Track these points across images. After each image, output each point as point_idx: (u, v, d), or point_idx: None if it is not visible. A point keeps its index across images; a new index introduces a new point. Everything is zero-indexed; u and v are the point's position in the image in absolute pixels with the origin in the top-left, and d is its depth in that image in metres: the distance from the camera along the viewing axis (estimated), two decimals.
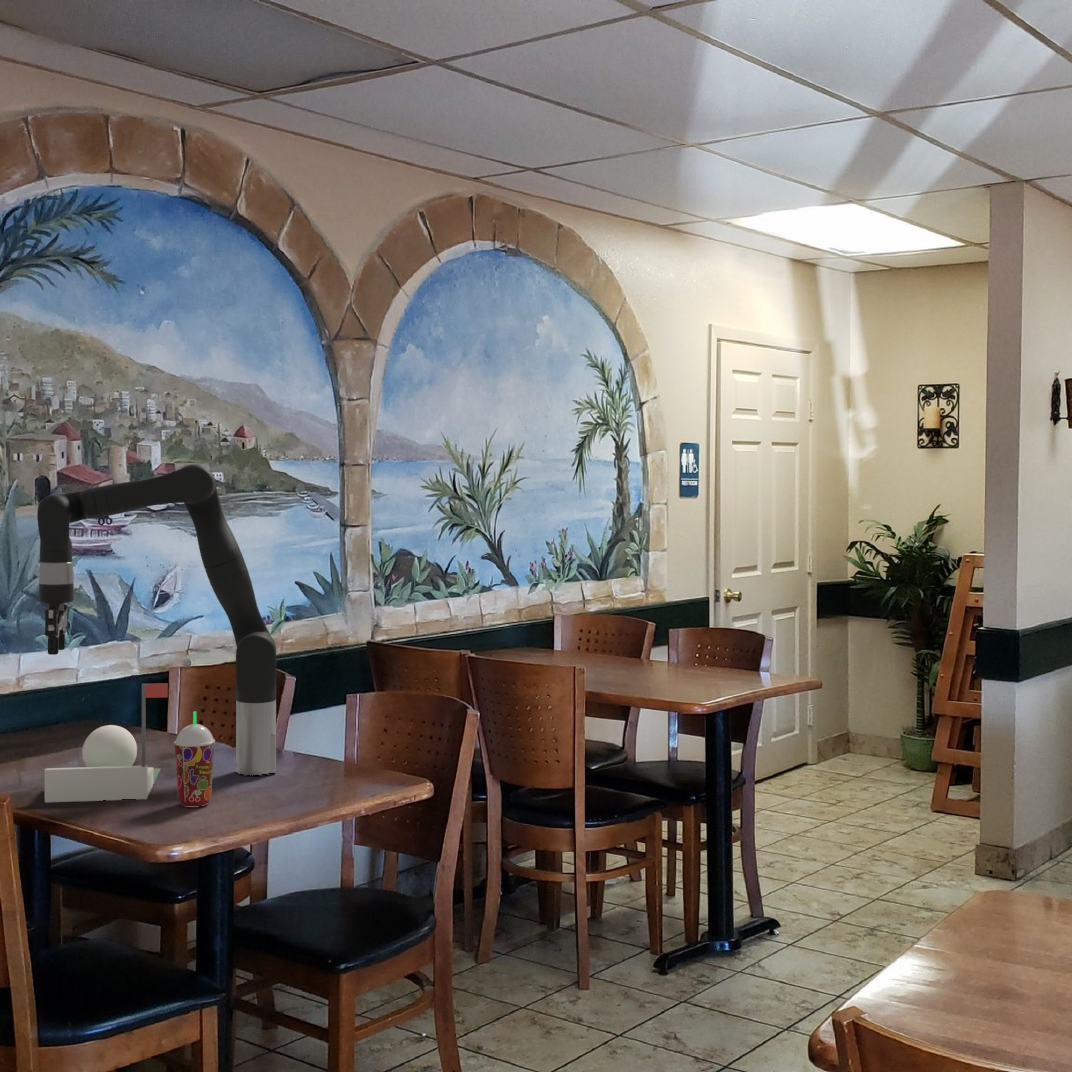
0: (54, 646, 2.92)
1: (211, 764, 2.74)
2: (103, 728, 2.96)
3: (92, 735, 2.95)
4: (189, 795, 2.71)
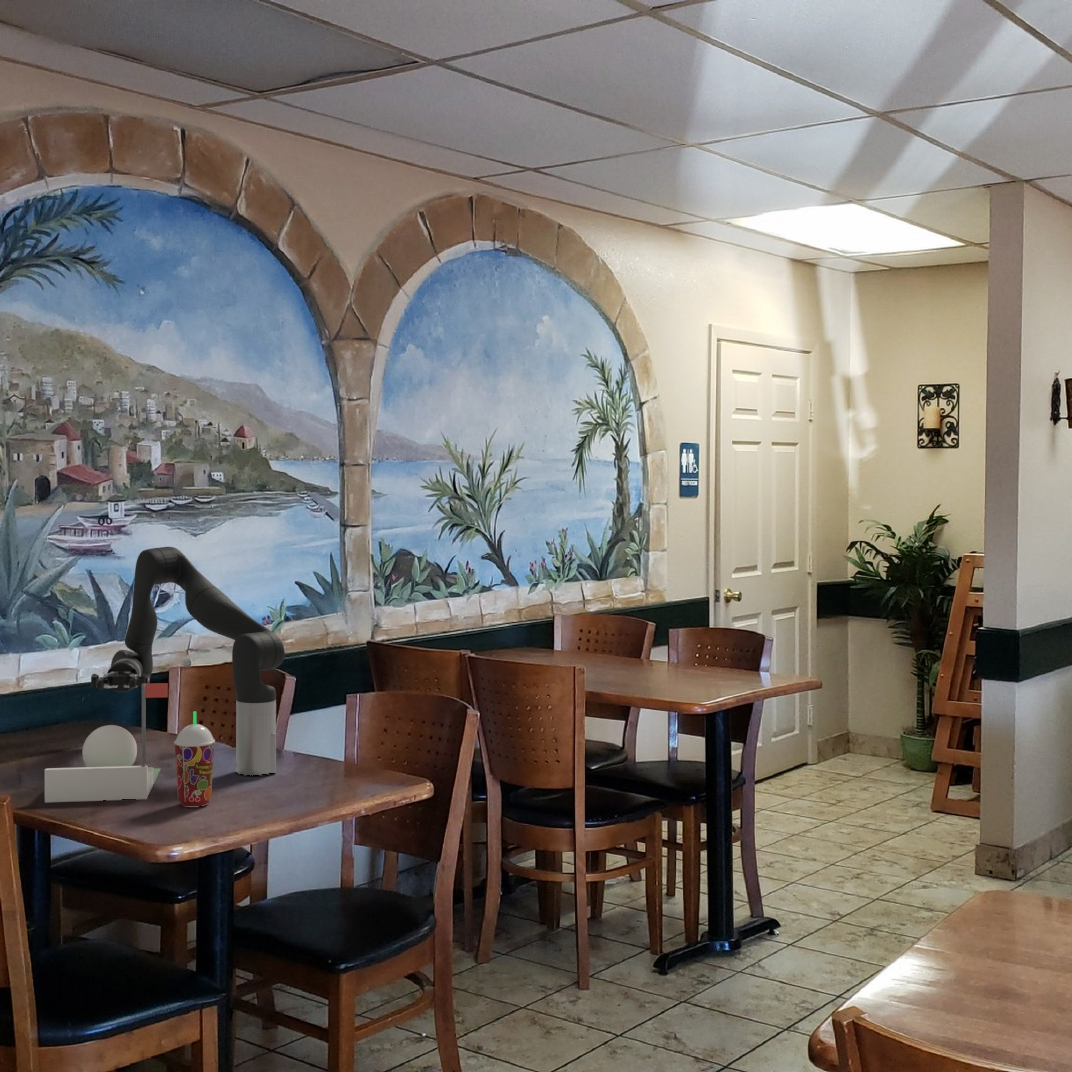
0: None
1: (211, 764, 2.74)
2: (103, 728, 2.96)
3: (92, 735, 2.95)
4: (189, 795, 2.71)
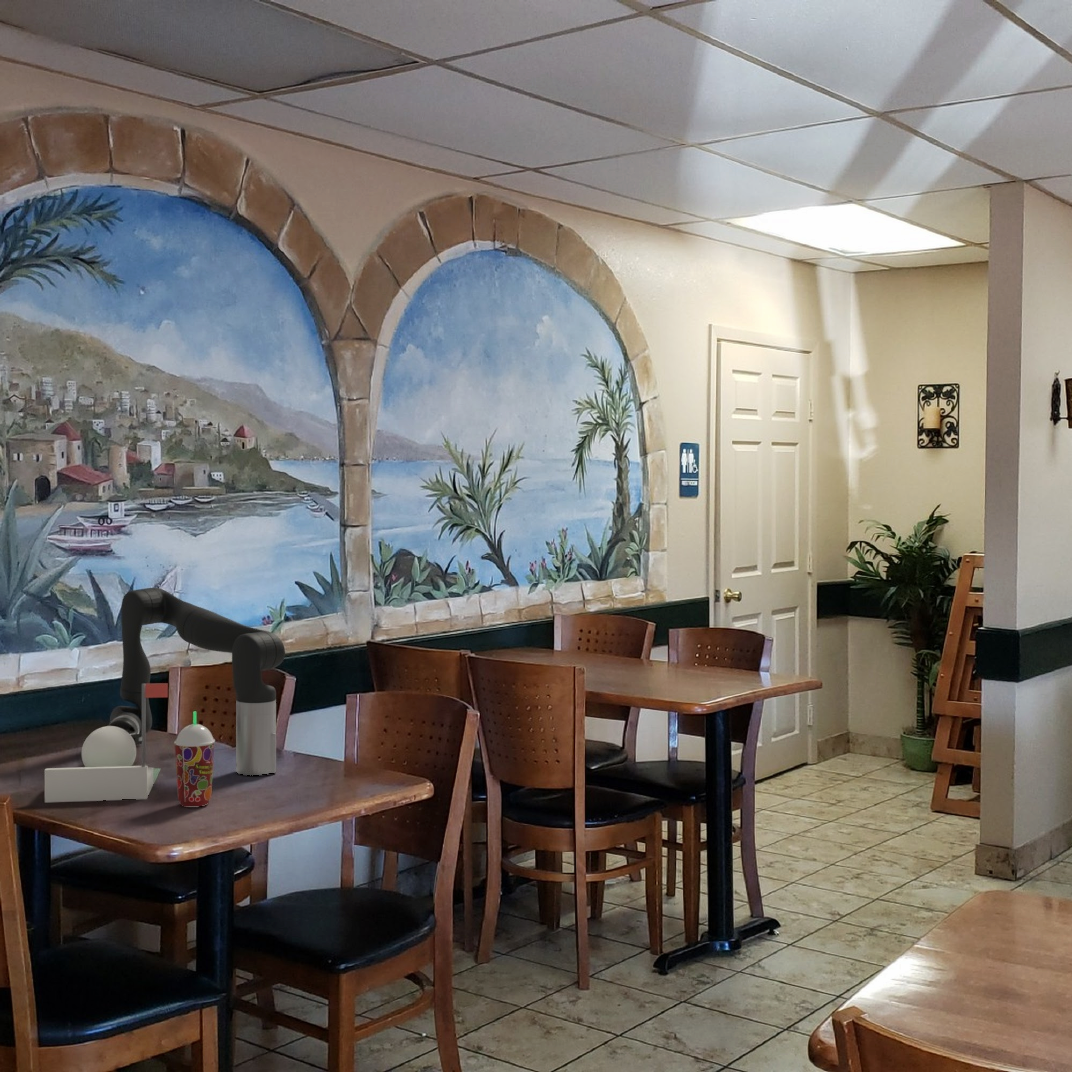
0: None
1: (211, 764, 2.74)
2: (101, 731, 2.94)
3: (91, 739, 2.93)
4: (189, 795, 2.71)
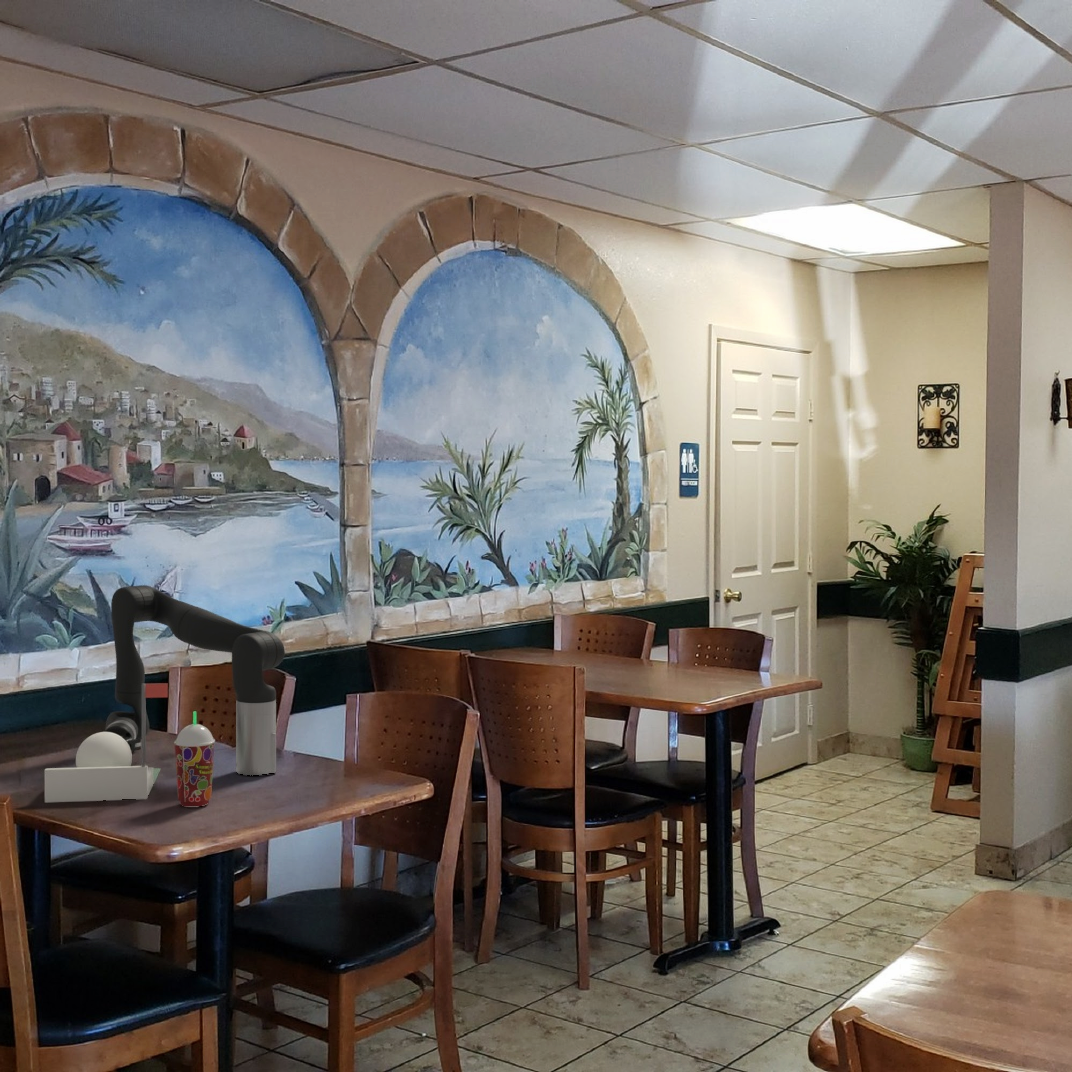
0: None
1: (211, 764, 2.74)
2: (94, 766, 2.84)
3: None
4: (189, 795, 2.71)
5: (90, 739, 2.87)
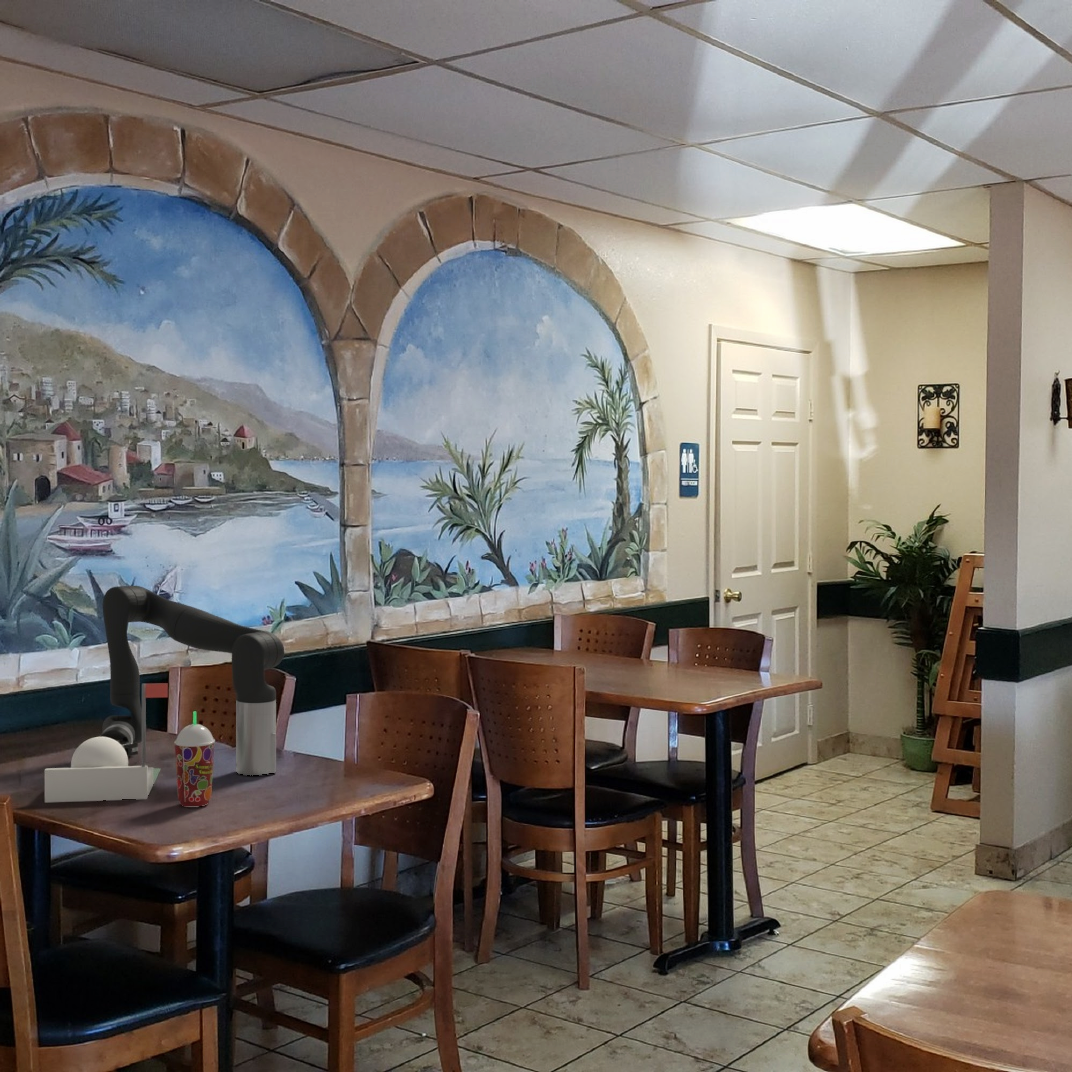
0: None
1: (211, 764, 2.74)
2: None
3: None
4: (189, 795, 2.71)
5: (83, 764, 2.79)
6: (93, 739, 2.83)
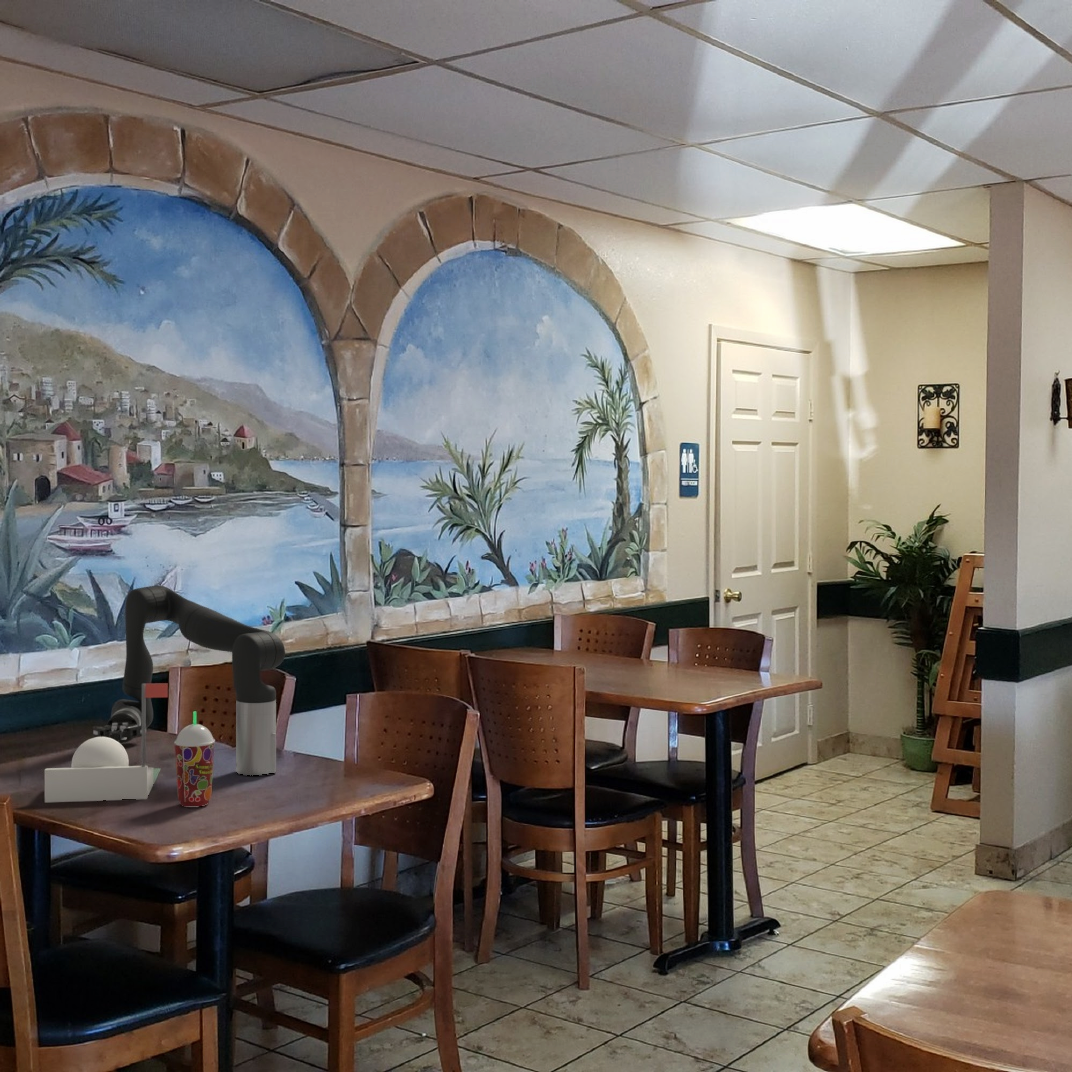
0: None
1: (211, 764, 2.74)
2: None
3: None
4: (189, 795, 2.71)
5: (83, 765, 2.79)
6: (94, 739, 2.83)
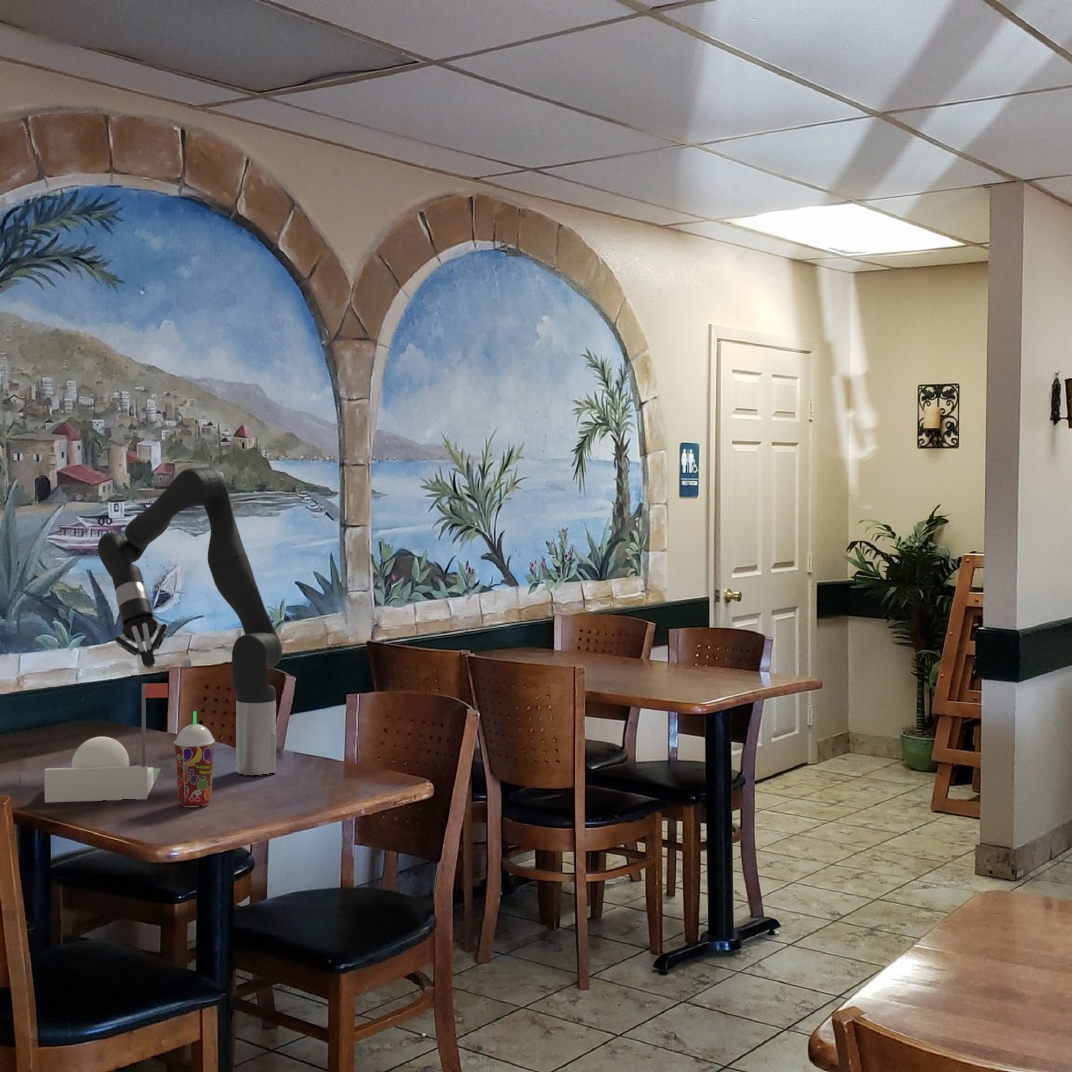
0: (142, 660, 3.09)
1: (211, 764, 2.74)
2: None
3: None
4: (189, 795, 2.71)
5: (84, 765, 2.79)
6: (95, 739, 2.83)
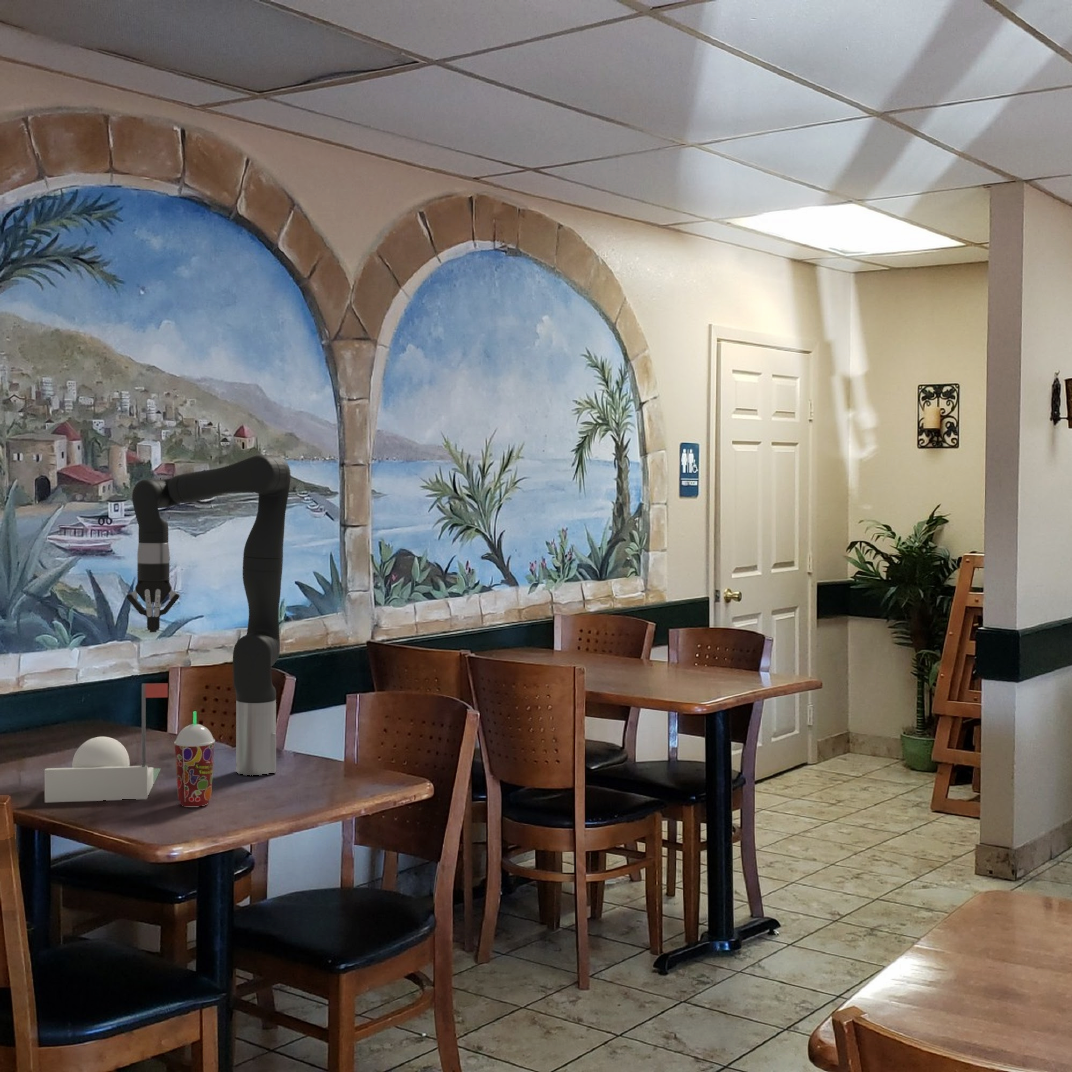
0: (147, 624, 3.15)
1: (211, 764, 2.74)
2: None
3: None
4: (189, 795, 2.71)
5: (84, 764, 2.79)
6: (96, 739, 2.83)
